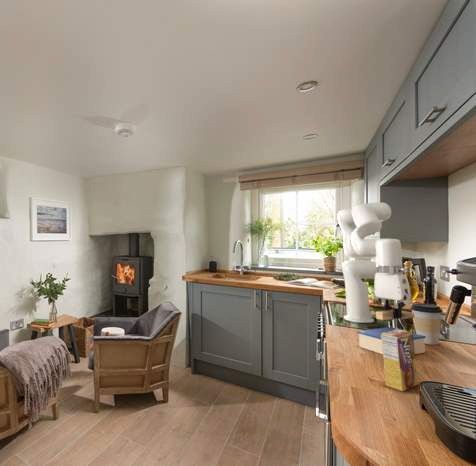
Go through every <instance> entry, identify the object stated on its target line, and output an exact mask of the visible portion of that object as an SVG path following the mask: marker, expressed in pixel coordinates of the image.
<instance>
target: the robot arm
mask: <svg viewBox="0 0 476 466" xmlns="http://www.w3.org/2000/svg"><path fill="white" fill-rule="evenodd" d="M391 216H392V208H391V206H390V205H389V204H388V203H386V202H381V201H380V202H379V201H378V202H366V203H359V204H355V205H354V206H353V207H346V208H342V209H341V210H339V211H338V213H337V220H338V225H339V226H340V228H341V230H342V234H343V236H342V237H343V250H344V251H343V252H344V254H345V256H346V257H348V258H351V259H352V260H346V261H344V262H343V263H342V265H341V271H342V274H343V275H342V276H343V280H344V289H345V290H344V292H345V304H346V305H345V306H346V315H343V320H345V321H348V322H352V323H359V324H372V323H374V322H375V319H374V318H372V317H374V316H375V317H376V311H370V298H369V287H368V285H367V284H366V283H365V282H364V281H363V279H365V280H367V279H369V280H370V279H371V280H374V283H373V284H374V285H373V290H374V295H373V299H374V300H376V301H378V302H379V303H380V304H381V306H382V307H383V311H387V310H393V315H394V319H393V320H399V319H402V318H401V316H402V311H403V310H402V309H403V308H404V307H405V306H407V305H411V304H413V301H412V294H411V293H412V292H411V287H410V283H409V279H408V277H407V275H406V273H405V274H404V272H407V268H406V267H404V266H403V256H402V255H403V253H402V243H401V240H400V239H398V238H388V237H386V238H385V237H384V238H366V237H370V236H372V235H375V234H376V233H378V232H380V231H381V229H382V227H383V224H382V223H383V222H385V221H388V220H389V219H390V218H391ZM364 258H365V259H366V260H364ZM353 259H355V260H353ZM357 259H358V260H357ZM360 259H361V260H360ZM362 259H363V260H362ZM367 259H369V260H367ZM391 300H392V301H393V306H392V305H391Z"/></svg>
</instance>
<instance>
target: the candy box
mask: <svg viewBox="0 0 476 466" xmlns="http://www.w3.org/2000/svg"><path fill="white" fill-rule="evenodd" d="M395 329H396V330H392V331H389V332H385V333H382V334H381V339H382V349H383V354H382V360H383V369H384V379H385V387H389V388H392V389H395V390H397V391H399V392H405V391H408V390H409V389H411V388H413V387H416V386H418V385H419V378H418V370H417V361H416V354H415V350H414V341H413V333H414V332H413V331H409V330H404V329H399V328H395Z"/></svg>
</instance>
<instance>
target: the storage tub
mask: <svg viewBox="0 0 476 466" xmlns="http://www.w3.org/2000/svg"><path fill="white" fill-rule="evenodd" d="M396 329H397V328H392V327H389V326H387V327H379V328H371V329H365V330H357V334H358V344H359V348H362V349H365V350H368V351H371V352H375V353H378V354H380V355H383V349H382V339H381V334H382V333H385V332H389V331H392V330H396ZM424 338H426V336H423V335H418V334H417V333H414V332H413V341H414V350H415V355H417V354H418V355H419V354H423V353H426V346H425V345H426V344H425V343H424Z"/></svg>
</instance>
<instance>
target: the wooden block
mask: <svg viewBox="0 0 476 466" xmlns="http://www.w3.org/2000/svg"><path fill="white" fill-rule="evenodd" d="M375 313H376V315H375V318H376V320H379V321H389V320H395V319H394V315H393V309H392V310H387V311H384V310H379V311H375ZM413 318H414V313H412V311H407V310H402V316H401V318H400V319H404V320H405V319H413Z"/></svg>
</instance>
